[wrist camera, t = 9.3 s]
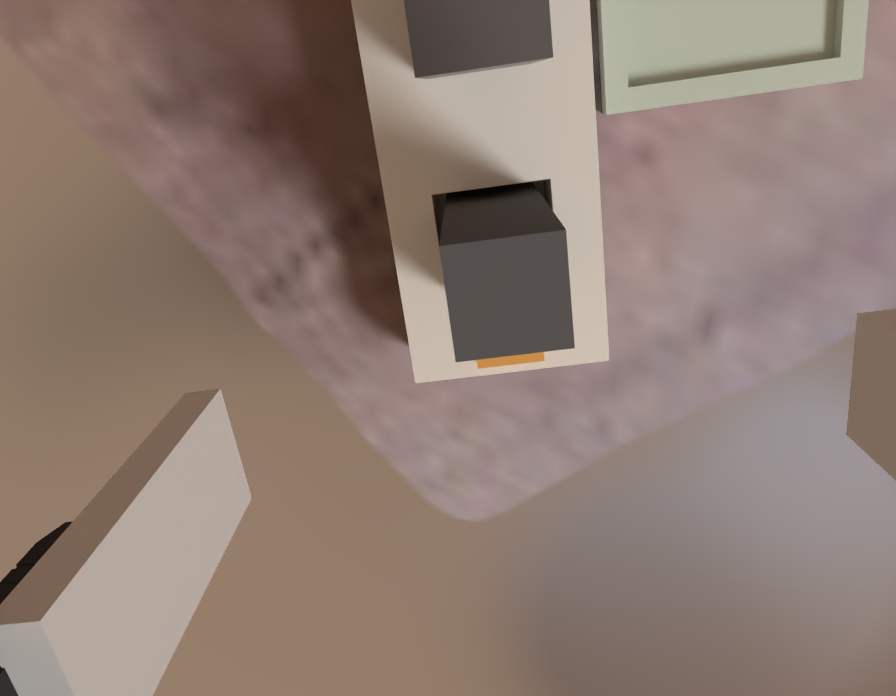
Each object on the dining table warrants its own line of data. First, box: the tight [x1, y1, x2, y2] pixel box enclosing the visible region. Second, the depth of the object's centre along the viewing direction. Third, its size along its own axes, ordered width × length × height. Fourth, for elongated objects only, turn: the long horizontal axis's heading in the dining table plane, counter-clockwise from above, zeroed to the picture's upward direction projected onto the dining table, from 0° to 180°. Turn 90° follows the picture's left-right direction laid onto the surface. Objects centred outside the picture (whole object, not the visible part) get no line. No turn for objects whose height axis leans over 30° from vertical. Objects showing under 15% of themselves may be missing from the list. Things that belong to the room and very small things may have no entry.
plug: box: [439, 182, 575, 362], centre depth 27 cm, size 4×4×11 cm
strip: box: [351, 0, 609, 383], centre depth 26 cm, size 20×9×12 cm, turn 8°
